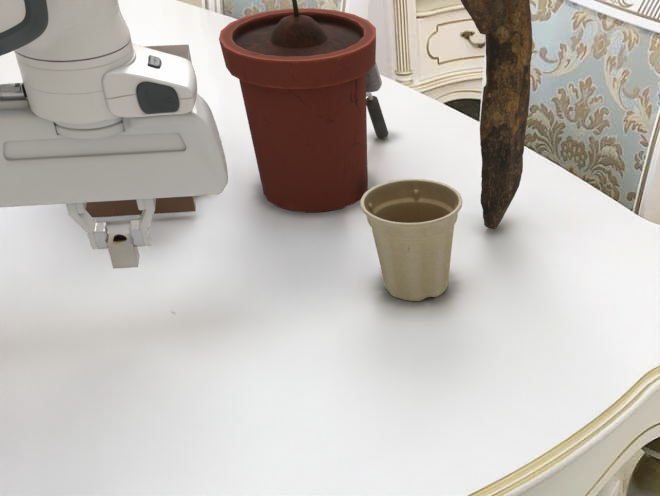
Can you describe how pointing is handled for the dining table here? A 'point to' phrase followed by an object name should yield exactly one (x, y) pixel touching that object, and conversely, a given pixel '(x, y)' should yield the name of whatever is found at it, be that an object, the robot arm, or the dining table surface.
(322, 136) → the potted plant
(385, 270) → the flower pot
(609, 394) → the dining table surface
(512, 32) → the sculpture
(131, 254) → the cube with dark pebbles
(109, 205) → the drawer
